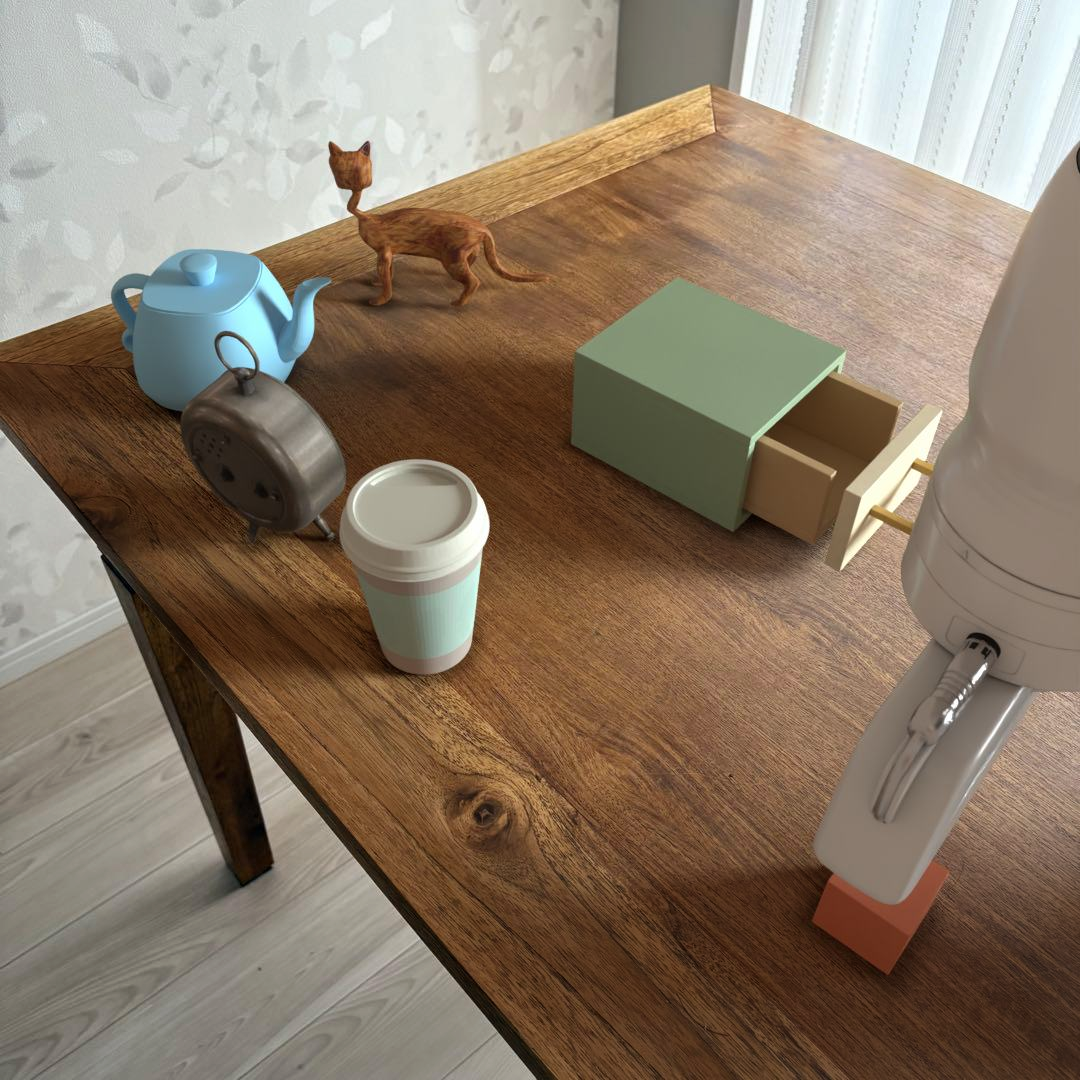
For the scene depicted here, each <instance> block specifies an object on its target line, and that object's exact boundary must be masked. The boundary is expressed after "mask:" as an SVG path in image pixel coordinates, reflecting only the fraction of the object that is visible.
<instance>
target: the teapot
mask: <svg viewBox="0 0 1080 1080" xmlns="http://www.w3.org/2000/svg"><path fill="white" fill-rule="evenodd" d="M331 282H332V279H331V277H326V276H325V277H324V276H322V277H321V276H320V277H319V276H318V277H314V278H313V277H312V278H309V279H306V280H304V281H302V282H301V283H299V284H298V286H297V287H296V289H295V291H294V294H293V299H292V304H291V302H290V300H289V298H288V296H287V294H286V292H285V290H284V289H283V287H282V285H281V284H280V283H279V281H278V280H277V279H276V277H275V276H274V274H273V273H272V271H270V270H269V268H268V267H267V266H266V265H265V264H264V262H263V261H262V259H260V257H257V256H255V255H253V254H250V253H245V252H240V251H233V250H223V249H222V250H221V249H212V248H211V249H209V248H191V249H185V250H181V251H179V252H176V253H175V254H172V255H171V256H169V257H168V258H167V259H165V260H164V261H163V262H162V263H161V264H160V265H158V266H157V267H156V268H155V270H154V271H153V272H152V273H151V274H150V275H148V274H144V273H137V272H135V273H133V272H132V273H129V274H125V275H123V276H122V277H119V279H118V280H117V281H116V282H115V283H114V285H113V286H112V288H111V290H110V291H111V292H110V300H111V303H112V306H113V309H114V310H115V312H116V313H117V314H118V317H119V318H120V319H121V321H122V322H123V324H124V325H125V327H127V328H126V329H125V330H124V331H123V332H122V336H121V343H122V346H123V347H124V349H125V350H126V351H128V352H129V353H131V354H132V358H133V359H132V360H133V367H134V368H133V369H134V373H135V376H136V380H137V383H138V386H139V387H140V389H141V390H142V391H143V393H144V394H145V395H146V396H147V397H149V398H150V399H151V400H153V401H154V402H155V403H157V404H158V405H160V406H162V407H163V408H166V409H170V410H173V411H177V412H182V413H183V410H184V408H185V406H186V405H187V404H188V403H189V402H190V401H191V400H192V399H193V398H194V397H196V396H197V395H198V394H199V393H200V392H202V391H203V390H204V389H205V388H207V387H208V386H209V385H210V384H212V383H213V382H214V381H215V380H217V379H218V378H219V377H220V376H221V375H222V374H223V373H224V372H225V371H227V370H228V369H227V368H226V367H225V366H224V364H223V363H222V362H221V361H220V359H219V358H218V355H217V353H216V350H215V345H214V340H215V337H216V336H217V335H218V334H219V333H220V332H222V331H232V332H235V333H237V334H239V335H240V336H242V337H243V338H245V339H246V340H247V341H248V342H249V343H250V345H251V346H252V347H253V349H254V350H255V352H256V354H257V356H258V359H259V362H260V365H259V369H260V370H259V371H262V372H265V373H267V374H269V375H271V376H273V377H275V378H277V379H279V380H280V381H282V382H283V383H285V382H286V381H287V379H288V377H289V376H290V374H291V372H292V369H293V367H294V365H295V363H296V361H297V359H299V357H301V356H302V355H303V354H304V352H306V350H307V349H308V348H309V346H310V345H311V342H312V340H313V338H314V332H315V312H314V299H315V297H316V294H317V293H318V291H320V290H321V289H323V288H324V287H325V286H327V285H329V284H330V283H331ZM127 289H128V290H129V289H136V290H141V294H140V298H139V301H138V304H137V310H136V311H135V309H134V308H133V306H132V305H131V303H130V302H129V300H128V298H127V296H126V293H125V290H127ZM219 347H220V351H221V353H222V355H223V357H224V358H225V360H226V361H227V362H228V364H229V365H230V366H231V367H232V368H236V367H246V368H252V369H255V362H254V359H253V357H252V355H251V354H250V352H249V350H248V349H247V348H246V347H245V346H244V345H243V344H242V343H241V342H240V341H239V340H238V339H236V338H233V337H230V336H224V337H222V338H221V340H220V342H219Z"/></svg>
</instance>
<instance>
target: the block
mask: <svg viewBox="0 0 1080 1080" xmlns="http://www.w3.org/2000/svg"><path fill="white" fill-rule="evenodd" d="M949 874H950V870H948V869H947V868H945V867H944V866H942V865H941V864H939V863H938V862H936V861H934V860H933V859H932V861H931V863H930V864H929V866H928V867H927V869H926V870H925V872H924V873H923V875H922V877H921V878H920V880H919V881H918V883H917V884H916V886H915V887H914V889H913V890H912V892H911V893H910V894H909V895H908V897H907V898H906V899H905V900H903V901H902V902H900V903H898V904H895V905H887V904H884V903H881V902H879V901H877V900H875V899H873V898H871V897H869V896H868V895H866V894H864V893H863V892H861V891H859V890H858V889H856V888H855V887H853V886H852V885H850V884H849V883H847V882H846V881H844V880H843V879H841V878H840V877H839V876H837V875H836V874H835V873H833V872H832V875H830V877H829V879H828V880H827V882H826V885H825V887H824V890H823V892H822V895H821V897H820V900H819V902H818V905H817V907H816V909H815V912H814V914H813V916H812V918H811V919H812V920H811V922H812V923H813V924H814V925H816V926H817V927H819V928H820V929H821V930H823V931H824V932H825V933H827V934H829V935H830V936H831V937H832V938H834V939H835V940H837V941H838V942H840V944H841V943H842V944H843V945H844V946H846V947H847V948H849V949H850V950H851V951H852V952H853V953H855V954H857V955H858V956H860V957H861V958H863V959H864V960H865V961H867V962H868V963H870V964H871V965H873V966H874V967H876V968H877V969H878V970H880V971H881V972H883V973H884V974H886V975H887V976H888V975H890V974H891V972H892V971H893V969H894V967H895V965H896V964H897V962H898V961H899V959H900V957H901V956H902V954H903V952H904V951H905V949H906V948H907V946H908V945H909V943H910V941H911V939H912V938H913V936H914V934H915V933H916V932H917V930H918V929H919V927H920V925H921V923H922V922H923V920H924V918H926V916H927V914H928V912H929V910H930V909H931V907H932V905H933V903H934V902H935V900H936V898H937V896H938V894H939V892H940V891H941V889H942V887H943V886H944V884H945V882H946V880H947V878H948V876H949Z"/></svg>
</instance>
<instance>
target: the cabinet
mask: <svg viewBox="0 0 1080 1080" xmlns="http://www.w3.org/2000/svg"><path fill="white" fill-rule="evenodd" d="M847 351H848V350H847V349H845V348H843V347H840V346H839V345H836V344H833V343H830V342H829V341H826V340H824V339H821V338H819V337H817V336H815V335H812V334H811V333H808V332H806V331H803V330H800V329H799V328H797V327H795V326H791V325H789V324H787V323H784V322H782V321H780V320H778V319H775V318H774V317H770V316H768V315H767V314H764V313H761V312H759V311H757V310H755V309H752V308H750V307H748V306H745V305H743V304H741V303H739V302H736V301H734V300H732V299H730V298H727V297H725V296H722V295H720V294H718V293H715V292H713V291H711V290H708V289H706V288H704V287H701V286H699V285H697V284H695V283H692V282H690V281H688V280H686V279H683V278H681V277H679V276H676V277H675V278H674V279H672V280H671V281H669V282H667V283H666V284H664V286H662V287H661V288H660V289H658V290H657V291H655V292H654V293H653V294H651V295H650V296H649V297H647V298H646V299H644V300H643V301H642V302H640V303H638V305H636V306H634V308H631V309H630V310H629V311H628V312H626V313H625V314H623V315H622V316H621V317H620V318H618V319H617V320H616V321H613V323H611V324H610V325H609V326H607V327H605V329H603V330H601V331H600V332H599V333H597V334H596V335H594V336H593V337H592V338H590V339H589V340H588V341H586V342H585V343H583V344H582V345H581V346H579V347H578V348H577V349H575V350H574V353H573V354H574V355H573V356H574V357H573V358H574V359H573V360H574V362H573V386H572V390H573V391H572V411H571V412H572V413H571V415H572V416H571V437H570V444H571V445H572V446H574V447H576V448H577V449H579V450H581V451H583V452H585V453H587V454H589V455H590V456H592V457H595V458H596V459H598V460H600V461H601V462H603V463H605V464H608V465H609V466H610V467H612V468H614V469H616V470H618V471H619V472H621V473H624V474H626V475H627V476H629V477H631V478H633V479H634V480H636V481H638V482H640V483H642V484H644V485H646V486H648V487H649V488H651V489H653V490H655V491H657V492H658V493H660V494H662V495H664V496H665V497H668V498H670V499H672V500H673V501H675V502H676V503H679V504H681V505H682V506H684V507H686V508H688V509H689V510H691V511H693V512H695V513H697V514H699V515H700V516H703V517H705V518H706V519H708V520H710V521H711V522H714V523H716V524H717V525H720V526H721V527H722V528H725V529H727V530H729V531H731V532H732V533H734V532H735V531H737V530H738V528H739V527H740V526H741V525H742V524H744V522H745V521H747V520H748V519H749V518H750V517H751V516H752V514H753V513H751V512H749V511H747V510H745V509H743V503H744V498H745V493H746V488H747V482H748V477H749V472H750V467H751V462H752V456H753V451H754V446H755V442H756V441H757V440H758V439H759V438H760V437H761V436H762V435H763V434H764V433H765V432H766V431H768V430H769V429H770V428H771V427H772V426H773V425H774V424H775V423H776V422H777V421H778V420H779V419H781V418H782V417H783V416H784V415H785V414H786V413H787V412H788V411H789V410H790V409H791V408H792V407H793V406H795V405H796V404H797V403H798V402H799V401H800V400H801V399H802V398H803V397H804V396H805V395H806V394H808V393H809V392H810V391H811V390H812V389H813V388H814V387H815V386H816V385H817V384H818V383H819V382H821V381H822V380H823V379H824V378H825V377H826V376H827V375H828V374H829V373H830V372H831V371H835V372H837V373H839V374H841V375H842V371H843V367H844V363H845V359H846V355H847Z"/></svg>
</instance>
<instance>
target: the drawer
mask: <svg viewBox="0 0 1080 1080" xmlns="http://www.w3.org/2000/svg"><path fill="white" fill-rule="evenodd" d="M903 405H904V401H902V400H899V399H898V398H895V397H892V396H890V395H888V394H886V393H884V392H881V391H879V390H877V389H875V388H874V387H870V386H868V385H867V384H864V383H861V382H859V381H857V380H855V379H853V378H851V377H848V376H846V375H843V374H842V373H841V374H839V373H837V372H835V371H831V372H830V373H829V374H828V375H827V376H826V377H825V378H824V379H823V380H822V381H821V382H819V383H818V384H817V385H816V386H815V387H814V388H813V389H812V390H811V391H810V392H809V393H808V394H806V395H805V396H804V397H803V398H802V399H801V400H800V401H799V402H798V403H797V404H796V405H795V406H793V407H792V408H791V409H790V410H789V411H788V412H787V413H786V414H785V415H784V416H783V417H782V418H781V419H779V420H778V421H777V422H776V423H775V424H774V425H773V426H772V427H771V428H770V429H769V430H768V431H766V432H765V433H764V434H763V435H762V436H761V437H760V438H759V439H758V440H757V441H756V442H755V446H754V451H753V456H752V462H751V467H750V472H749V477H748V482H747V488H746V493H745V498H744V503H743V509H745V510H747V511H749V512H751V513H752V514H753V515H755V516H757V517H759V518H761V519H763V520H764V521H766V522H767V523H770V524H772V525H774V526H776V527H777V528H779V529H781V530H783V531H785V532H786V533H789V534H791V535H792V536H795V537H796V538H798V539H800V540H802V541H804V542H806V543H808V544H810V545H812V546H814V545H815V544H816V543H817V542H818V541H819V540H820V538H821V537H822V536H823V535H824V534H825V533H826V532H827V531H828V530H829V529H830V527H831V526H832V525H833V524H834V523H835V524H834V526H833V531H832V534H831V538H830V541H829V545H828V548H827V552H826V555H825V559H824V564H825V565H826V566H828V567H830V568H831V569H833V570H835V571H837V572H841V571H842V570H843V569H844V567H846V565H847V564H848V563H849V562H850V561H851V560H852V558H854V557H855V556H856V554H857V553H858V552H859V551H860V549H862V547H863V546H865V544H866V543H867V541H869V540H870V538H871V537H872V536H873V535H874V534H875V532H876V531H877V530H878V529H879V528H880V527H881V526H882V525H883V524H886V525H887V526H888V525H889V526H891V527H892V528H895V529H897V530H899V531H900V532H902V533H904V534H906V535H908V536H910V534H911V531H912V528H913V525H914V522H913V521H910V520H908V519H906V518H904V517H902V516H900V515H898V514H896V513H894V511H895V510H896V509H897V508H898V507H899V506H900V504H901V503H902V502H903V501H904V500H905V499H906V498H907V496H909V494H910V493H911V492H912V491H913V490H914V488H915V487H916V486H917V485H918V484H919V481H920V479H921V476H922V475H925V476H927V477H929V478H930V477H931V474H932V471H933V468H934V465H935V464H931V463H929V462H927V458H928V455H929V453H930V449H931V446H932V443H933V440H934V437H935V434H936V432H937V429H938V426H939V423H940V419H941V417H942V413H943V409H941V408H938V407H937V406H934V405H933V404H930V403H927V402H926V403H925V404H924V405H923V407H922V408H921V409H920V410H918V412H917V413H916V414H915V415H914V416H913V417H912V418H911V419H910V420H909V421H908V422H907V423H906V425H905V426H904V427H903V428H901V430H900V431H898V433H897V434H896V435H895V431H896V428H897V426H898V422H899V419H900V416H901V413H902V409H903Z"/></svg>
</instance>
